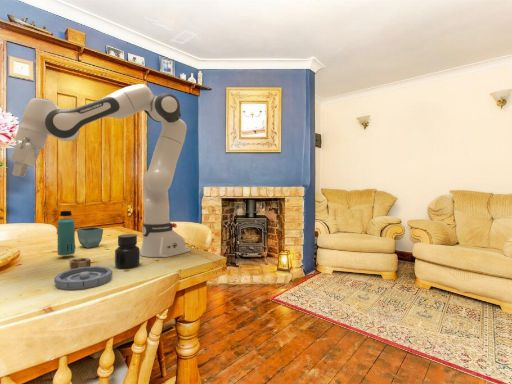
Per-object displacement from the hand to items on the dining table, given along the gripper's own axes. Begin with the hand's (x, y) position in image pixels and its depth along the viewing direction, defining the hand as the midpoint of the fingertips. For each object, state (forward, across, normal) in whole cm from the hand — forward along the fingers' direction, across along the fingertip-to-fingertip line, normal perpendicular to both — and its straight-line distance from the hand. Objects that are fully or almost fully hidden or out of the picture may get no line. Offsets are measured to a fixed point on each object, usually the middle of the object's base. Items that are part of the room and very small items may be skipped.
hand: (18, 176), depth 106 cm
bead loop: (+28, -8, -28) cm, 41 cm away
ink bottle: (+24, -10, -43) cm, 51 cm away
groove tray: (+28, -23, -30) cm, 47 cm away
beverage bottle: (+29, +14, -22) cm, 39 cm away
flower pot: (+26, +32, -31) cm, 51 cm away
